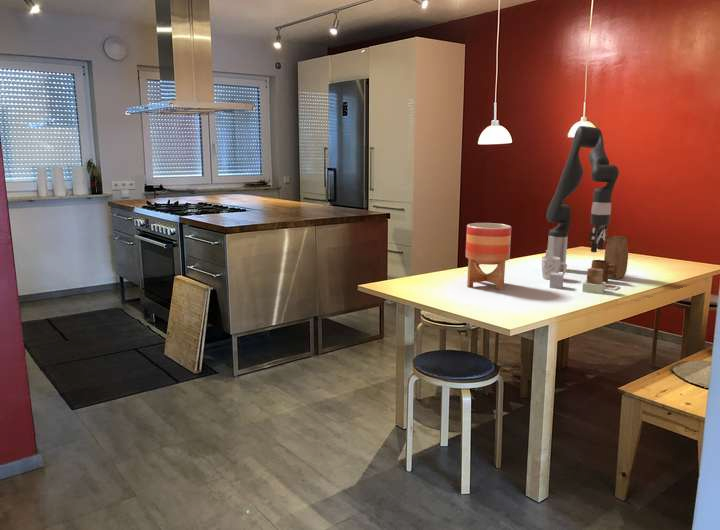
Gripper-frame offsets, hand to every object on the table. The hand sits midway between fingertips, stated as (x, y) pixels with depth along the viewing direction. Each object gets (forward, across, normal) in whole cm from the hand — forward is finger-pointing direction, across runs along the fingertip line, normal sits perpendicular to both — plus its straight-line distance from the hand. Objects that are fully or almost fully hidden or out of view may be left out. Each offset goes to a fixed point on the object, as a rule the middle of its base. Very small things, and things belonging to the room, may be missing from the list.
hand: (597, 250), depth 246 cm
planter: (+18, +22, -40) cm, 49 cm away
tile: (+18, -11, +3) cm, 21 cm away
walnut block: (+14, 0, 0) cm, 14 cm away
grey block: (+18, +4, -15) cm, 23 cm away
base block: (+18, 0, 0) cm, 18 cm away
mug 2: (+18, -22, -3) cm, 28 cm away
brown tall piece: (+18, -35, -2) cm, 39 cm away
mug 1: (+18, -12, -23) cm, 31 cm away
